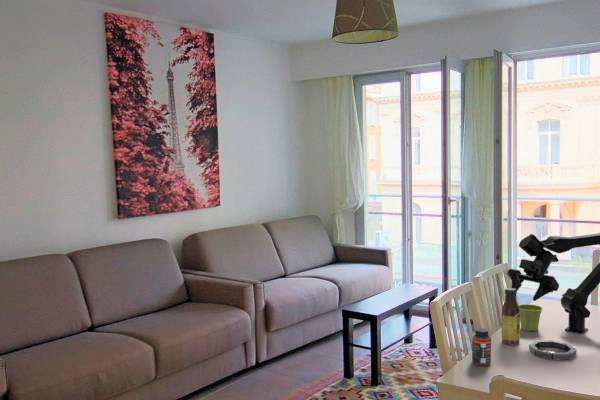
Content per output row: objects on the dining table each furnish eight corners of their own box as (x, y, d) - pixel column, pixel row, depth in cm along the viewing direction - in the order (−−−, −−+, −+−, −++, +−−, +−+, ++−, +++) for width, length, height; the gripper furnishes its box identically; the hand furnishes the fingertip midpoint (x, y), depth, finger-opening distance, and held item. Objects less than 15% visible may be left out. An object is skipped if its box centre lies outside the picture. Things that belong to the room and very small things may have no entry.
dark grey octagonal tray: (540, 343, 210) (540, 337, 210) (581, 352, 200) (581, 346, 200) (523, 353, 200) (523, 347, 200) (565, 363, 190) (565, 356, 190)
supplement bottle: (488, 367, 188) (488, 333, 187) (469, 364, 191) (470, 330, 190) (492, 361, 193) (493, 328, 192) (474, 358, 196) (475, 326, 195)
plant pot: (512, 329, 226) (512, 307, 225) (522, 323, 233) (523, 302, 232) (536, 334, 220) (536, 312, 219) (546, 328, 226) (546, 306, 226)
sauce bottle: (521, 346, 207) (521, 291, 205) (502, 345, 208) (503, 291, 207) (518, 340, 213) (518, 287, 212) (500, 339, 215) (500, 286, 213)
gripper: (510, 247, 223) (491, 280, 217) (555, 254, 207) (536, 289, 202) (522, 265, 228) (504, 297, 222) (567, 273, 212) (549, 308, 207)
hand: (522, 297), depth 213 cm, fingers open, 9 cm apart
